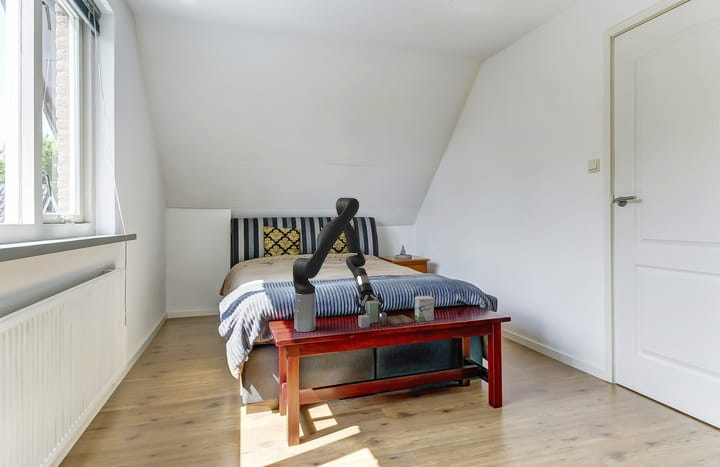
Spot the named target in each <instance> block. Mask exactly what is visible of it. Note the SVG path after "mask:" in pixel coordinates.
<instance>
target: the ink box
mask: <svg viewBox="0 0 720 467" xmlns="http://www.w3.org/2000/svg"><path fill="white" fill-rule="evenodd" d="M434 299H435V298H434V297H433V296H431V295H421V296H415V297H414V320H415V321H417V322H428V321H434V320H435V318H434V317H435V316H434V312H435V311H434V309H435V305H434V302H435V301H434Z"/></svg>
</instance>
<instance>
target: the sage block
mask: <svg viewBox="0 0 720 467" xmlns="http://www.w3.org/2000/svg"><path fill="white" fill-rule="evenodd" d="M365 310H366V314H365V315H367V316H369V324H375V323H379V311H378V302H376V301H375V300H374V301H366V303H365Z"/></svg>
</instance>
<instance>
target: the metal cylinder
mask: <svg viewBox="0 0 720 467" xmlns="http://www.w3.org/2000/svg"><path fill="white" fill-rule="evenodd" d="M386 317H388V316H387V312H384V311H382V312H380V313H379V312H378V327H387V321H386Z"/></svg>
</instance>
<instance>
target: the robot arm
mask: <svg viewBox="0 0 720 467" xmlns="http://www.w3.org/2000/svg"><path fill="white" fill-rule="evenodd" d="M359 209H360V201H359V200H358V199H357V198H355V197H339V198H337V200H336V201H335V210H336V214H337V216H336V217H335V218H334V219H333V218H332V219H331V220H330V221H328V222H327V223H326V224H325V225H324V226H323V227H322V229H321V230H320V231H319V233H318V235H317V238H316V249H315V251H314V252H313V254H312V256H311V257H308V258H307V257H297V258H296V259H295V260H294V262H293V266H292V280H293V281H292V282H293V284H292V285H293V287H294V292H295V293H294V294H295V297H294V299H295V301H294V302H295V308H293V309H294V310H293V311H294V313H293V318H294V320H293V321H294V324H293V326H294V329H296V330H295V331H296V332H298V333H299V332H301V333H306V332H307V333H308V332H313V331H315V330H316V286H315V285H314V284H313V283H311V282H310V279H314V278H316V277H317V275H319V272H320V271H321V268H322V267H323V264H324V262H325V260H326V259H327V257H328V256H329V253H330V252H331V251H332V249H333V247H334V246H335V245H336V242H338V239H339V238H340V236H341V235H342V233H343V235H344V238H345V245H346V249H347V252H348V253H352V254H353V255H349V256H347V257H346V259H345V264H346V266H347V268H348V270H349V271H350V272H351V273H352V275H353V278H354V282H355V286H356V288H357V291H358V295H357V294H356V295H355V297H354V299H353V300H354V302H355V306H356V308H358V309H360V311H361V313H362V315H366V306H365V305H366V301H376V302H378V314H379V313H380V312H383V307H382V306H383V305H384V300H383V297H382V295H381V293H379V292H378V294H375V293H374V288H373V287H372V283H371V281H370V279H369V276H368V273H367V271H366V269H365V268H364V266H365V265H366V262H367V261H366V257H365V255H364V253H363V252H362V249H361V245H360V240H359V235H358V233H357V231H356V229H355V228H354V227H353V225H352V223H351V221H352V220H353V219H354V217H355V216H356V215H357V213H358V211H359ZM360 301H362V302H361V303H360Z"/></svg>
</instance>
